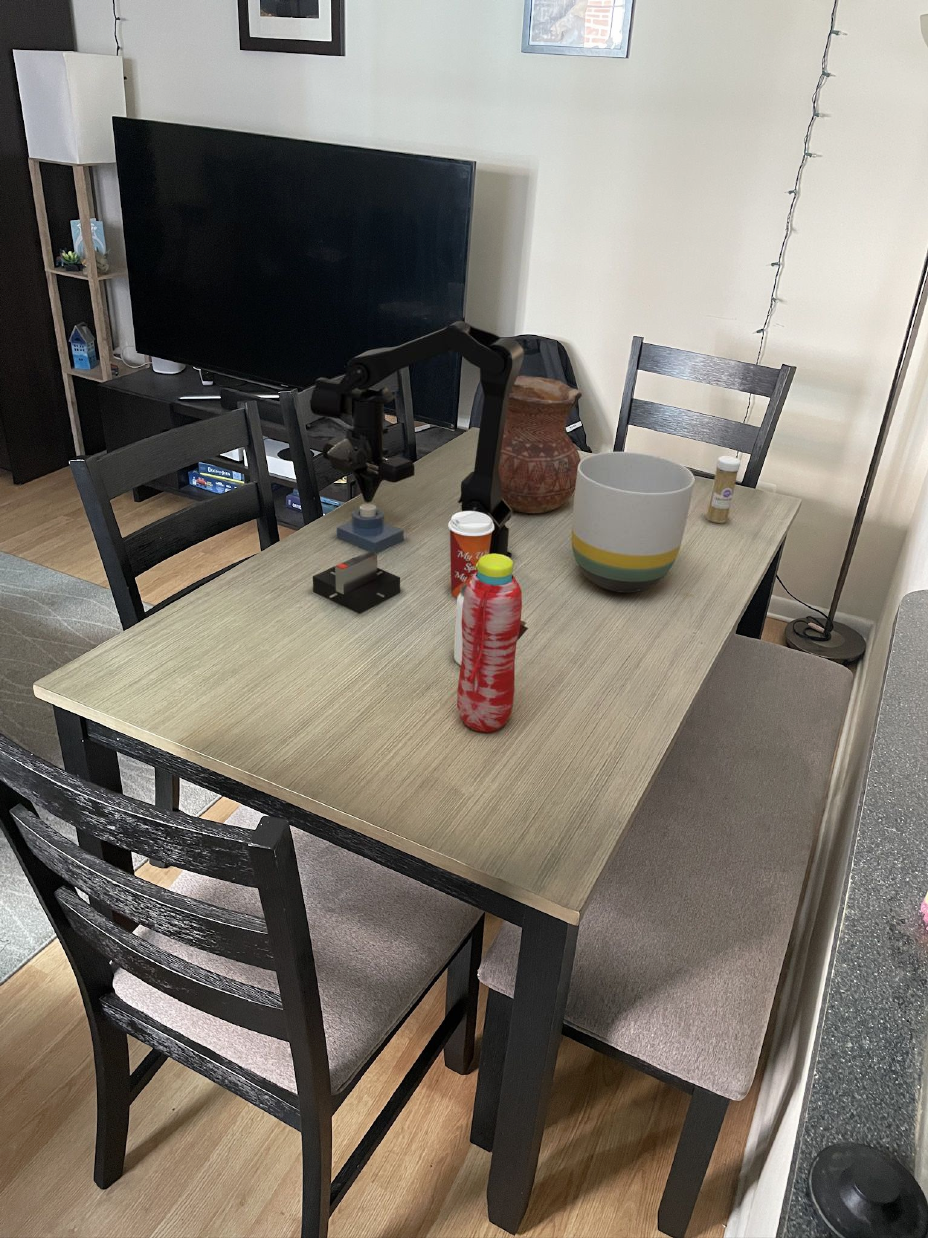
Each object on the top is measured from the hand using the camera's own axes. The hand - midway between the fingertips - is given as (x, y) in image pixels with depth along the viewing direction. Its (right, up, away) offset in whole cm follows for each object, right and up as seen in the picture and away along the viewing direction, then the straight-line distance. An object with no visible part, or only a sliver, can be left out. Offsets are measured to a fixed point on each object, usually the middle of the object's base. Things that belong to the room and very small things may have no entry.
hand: (368, 501), depth 171 cm
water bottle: (+22, -36, -47) cm, 63 cm away
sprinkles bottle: (+72, -2, +17) cm, 74 cm away
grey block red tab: (0, -17, -22) cm, 27 cm away
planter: (+46, -16, -10) cm, 50 cm away
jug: (+32, +3, +20) cm, 38 cm away
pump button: (0, -2, +1) cm, 3 cm away
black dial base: (0, -19, -20) cm, 27 cm away
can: (+20, -29, -34) cm, 49 cm away
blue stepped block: (0, -7, +1) cm, 7 cm away
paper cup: (+19, -18, -16) cm, 31 cm away
